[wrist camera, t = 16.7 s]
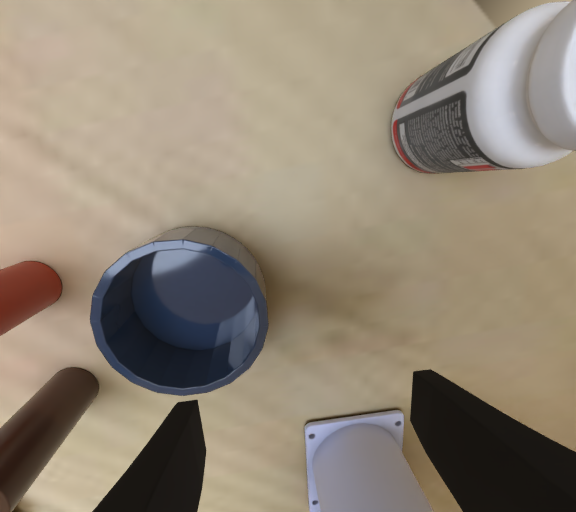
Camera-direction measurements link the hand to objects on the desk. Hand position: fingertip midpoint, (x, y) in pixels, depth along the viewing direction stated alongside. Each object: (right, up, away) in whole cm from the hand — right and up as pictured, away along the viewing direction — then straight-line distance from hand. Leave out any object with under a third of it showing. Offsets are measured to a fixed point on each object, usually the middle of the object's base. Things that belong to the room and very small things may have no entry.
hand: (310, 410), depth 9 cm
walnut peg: (-15, -4, +10) cm, 19 cm away
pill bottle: (+8, +13, +8) cm, 18 cm away
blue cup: (-7, +3, +9) cm, 12 cm away
